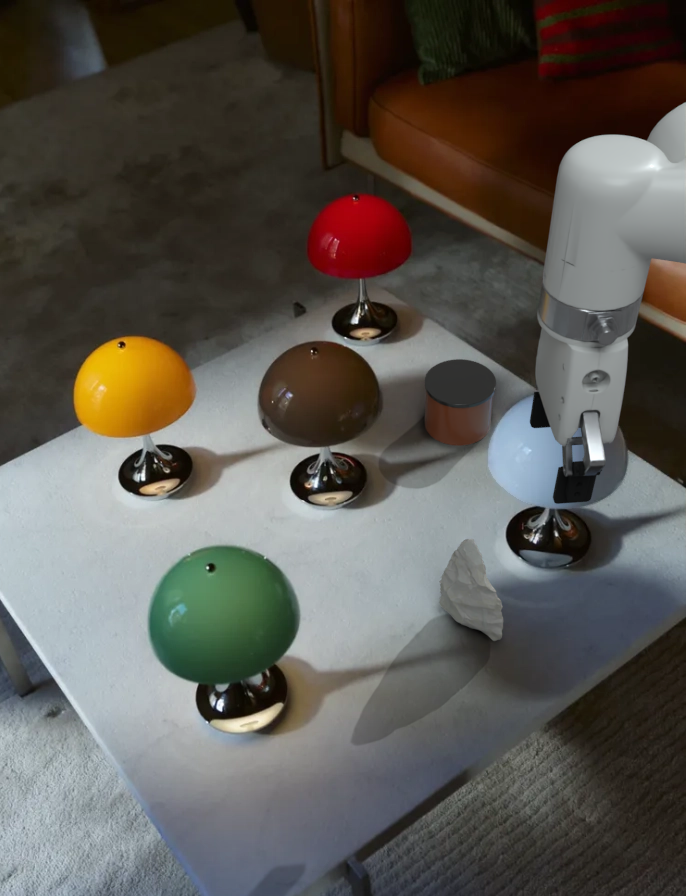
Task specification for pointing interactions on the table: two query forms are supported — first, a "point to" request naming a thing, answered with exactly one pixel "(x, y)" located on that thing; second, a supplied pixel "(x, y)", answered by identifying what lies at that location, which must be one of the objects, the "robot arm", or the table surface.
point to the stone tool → (471, 592)
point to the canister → (459, 401)
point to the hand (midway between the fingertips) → (558, 461)
